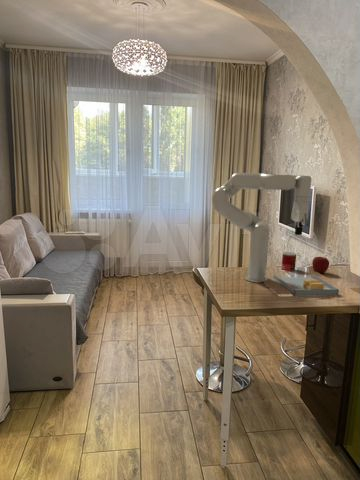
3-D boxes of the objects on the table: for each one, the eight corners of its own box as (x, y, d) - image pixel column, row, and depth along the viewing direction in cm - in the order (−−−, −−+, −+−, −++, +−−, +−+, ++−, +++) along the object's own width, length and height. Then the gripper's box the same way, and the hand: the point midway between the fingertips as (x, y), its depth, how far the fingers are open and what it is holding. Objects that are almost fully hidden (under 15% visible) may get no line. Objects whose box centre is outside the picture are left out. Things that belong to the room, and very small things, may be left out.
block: (303, 288, 187) (303, 279, 186) (315, 287, 188) (316, 279, 187) (309, 292, 180) (310, 284, 179) (322, 292, 181) (324, 283, 180)
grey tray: (273, 279, 203) (273, 274, 203) (312, 279, 207) (312, 274, 206) (294, 296, 178) (295, 290, 177) (338, 295, 182) (338, 289, 181)
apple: (328, 272, 223) (330, 256, 221) (327, 276, 214) (329, 259, 212) (312, 269, 226) (313, 254, 224) (310, 273, 218) (312, 257, 216)
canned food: (293, 273, 217) (294, 255, 215) (279, 271, 221) (281, 253, 219) (296, 270, 224) (297, 253, 221) (282, 268, 227) (284, 251, 225)
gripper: (288, 198, 195) (285, 231, 199) (301, 201, 181) (298, 237, 185) (301, 198, 197) (298, 232, 200) (315, 201, 182) (311, 237, 186)
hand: (298, 234), depth 192 cm, fingers closed
